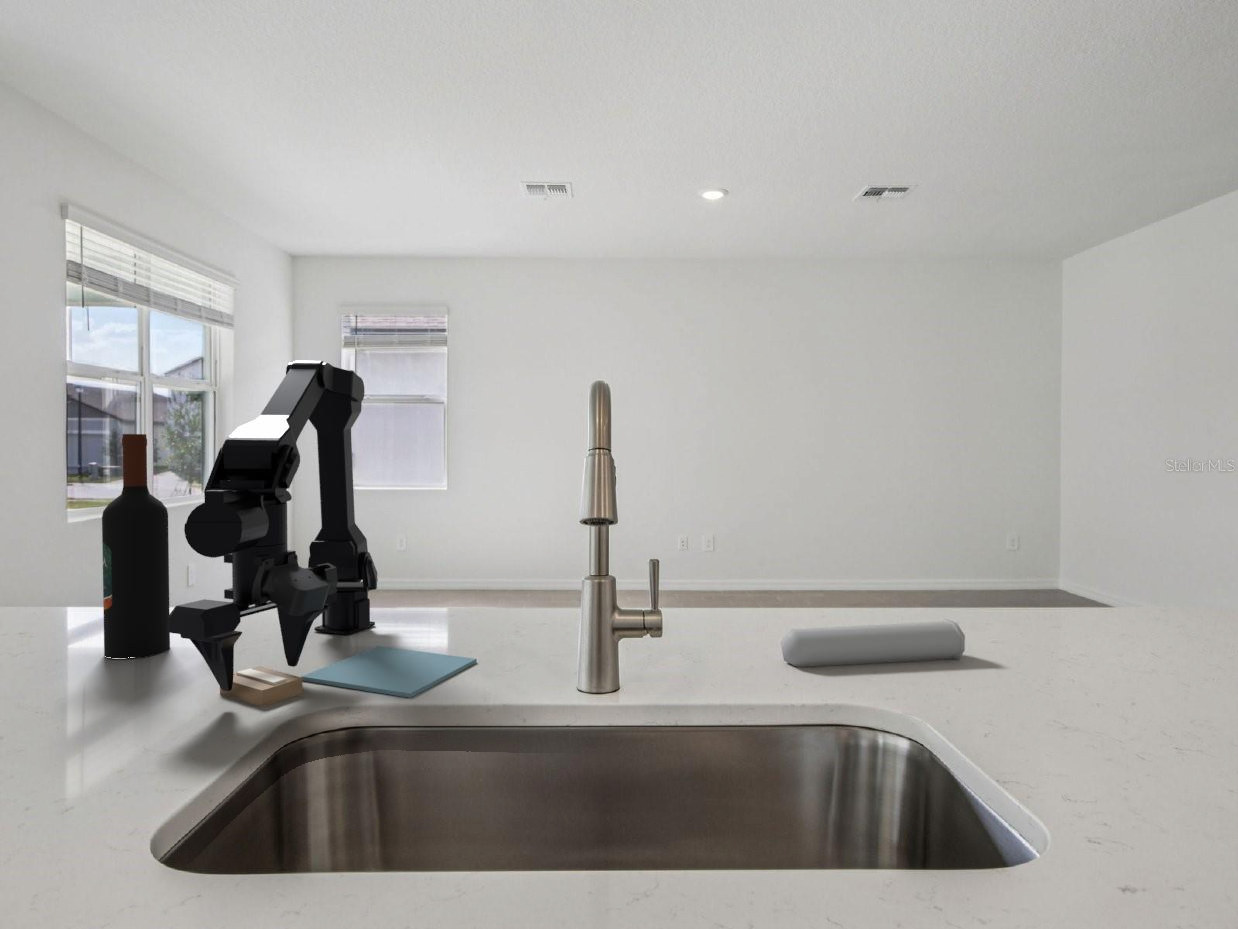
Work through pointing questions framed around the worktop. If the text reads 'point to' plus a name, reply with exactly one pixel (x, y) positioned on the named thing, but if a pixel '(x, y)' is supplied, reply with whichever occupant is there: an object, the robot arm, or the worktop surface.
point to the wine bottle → (135, 563)
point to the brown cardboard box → (263, 686)
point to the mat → (390, 671)
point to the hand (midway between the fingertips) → (261, 677)
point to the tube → (873, 643)
